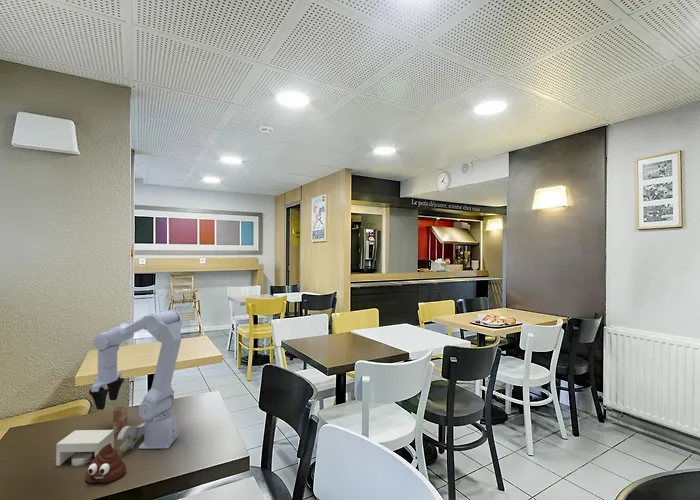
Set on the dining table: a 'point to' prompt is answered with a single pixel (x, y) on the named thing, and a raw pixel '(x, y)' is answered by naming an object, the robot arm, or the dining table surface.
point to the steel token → (81, 458)
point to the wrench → (130, 435)
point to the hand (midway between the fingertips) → (107, 404)
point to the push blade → (118, 420)
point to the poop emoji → (105, 466)
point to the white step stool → (83, 443)
